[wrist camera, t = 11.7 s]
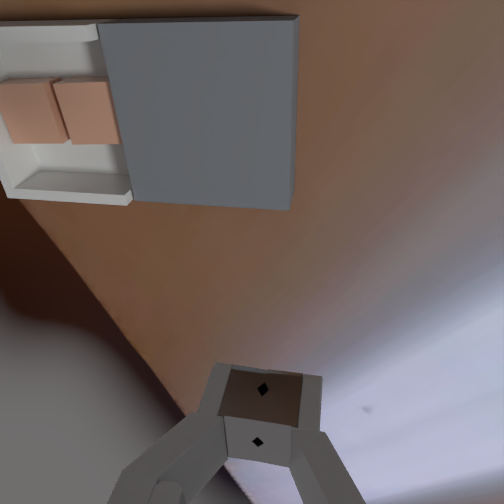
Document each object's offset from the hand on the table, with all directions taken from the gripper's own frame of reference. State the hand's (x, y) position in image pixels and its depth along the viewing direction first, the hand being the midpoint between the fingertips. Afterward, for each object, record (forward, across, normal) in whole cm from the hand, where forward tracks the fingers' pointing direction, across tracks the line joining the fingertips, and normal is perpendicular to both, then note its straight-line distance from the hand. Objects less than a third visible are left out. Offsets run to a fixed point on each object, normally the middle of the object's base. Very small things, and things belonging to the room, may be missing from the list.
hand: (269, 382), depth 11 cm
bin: (+27, +22, 0) cm, 35 cm away
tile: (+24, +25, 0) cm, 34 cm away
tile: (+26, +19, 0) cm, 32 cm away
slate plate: (+27, +9, 0) cm, 29 cm away
